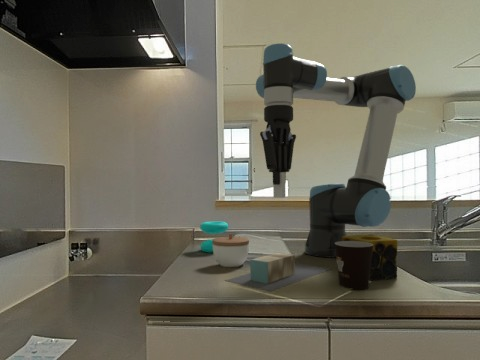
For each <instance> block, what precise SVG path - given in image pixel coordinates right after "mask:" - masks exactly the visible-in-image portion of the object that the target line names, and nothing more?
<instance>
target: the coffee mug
mask: <svg viewBox="0 0 480 360" xmlns="http://www.w3.org/2000/svg"><path fill="white" fill-rule="evenodd" d="M335 250H336V257H335V258H336V265H337V272H338V282H339V283H338V284H339V286H340V287H342V288H346V289H350V290H351V291H354V292H355V291H357V292H358V291H367V290H368V289H369V286H370V285H369V284H370V280H369V278H370V269H371V260H372V251H373V244H371V243H368V242H360V241H340V242H335Z"/></svg>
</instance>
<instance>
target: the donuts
mask: <svg viewBox="0 0 480 360" xmlns="http://www.w3.org/2000/svg"><path fill="white" fill-rule="evenodd" d="M199 227H200V230H201V231H202V232H203V233H205V234H210V235H211V234H216V235H217V234H222V233H225V232H226V231H227V230H229V224H228V223H227V222H226V221H220V220H219V221H217V220H216V221H214V220H212V221H204V222H201V224H200V226H199ZM212 240H213V239H207V240H204V241H202V242H201V244H200V246H199V249H200V250H201V251H202V252H204V253H213V243H212Z"/></svg>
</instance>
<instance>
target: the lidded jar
mask: <svg viewBox="0 0 480 360" xmlns="http://www.w3.org/2000/svg"><path fill="white" fill-rule="evenodd" d="M211 240H212V243H213V256H214V257H213V258H214V259H215V261H216V262H217V264H219V266H221V267H224V268H237V267H240V266H242V265H243V264H244V263H245V262H246V260H247V259H248V255H249V247H250V245H249V244H250V239H249V238H247V237H241V236H233V233H228V236H221V237H215V238H213V239H211Z"/></svg>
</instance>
